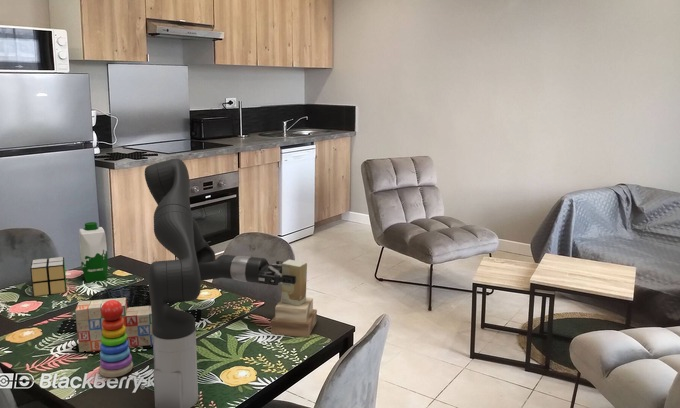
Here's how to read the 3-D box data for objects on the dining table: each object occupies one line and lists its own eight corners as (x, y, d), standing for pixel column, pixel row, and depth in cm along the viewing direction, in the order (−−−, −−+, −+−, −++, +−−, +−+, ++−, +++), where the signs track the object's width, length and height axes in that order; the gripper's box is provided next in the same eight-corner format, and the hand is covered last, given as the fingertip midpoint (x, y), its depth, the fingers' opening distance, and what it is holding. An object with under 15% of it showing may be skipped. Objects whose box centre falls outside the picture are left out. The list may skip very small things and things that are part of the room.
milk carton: (106, 272, 215) (103, 220, 211) (110, 280, 207) (106, 226, 203) (81, 276, 211) (76, 223, 206) (83, 284, 203) (79, 229, 199)
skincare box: (280, 302, 168) (280, 262, 165) (288, 297, 172) (288, 258, 169) (300, 306, 165) (300, 266, 163) (307, 301, 169) (307, 262, 167)
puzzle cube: (34, 287, 199) (31, 259, 197) (66, 283, 203) (64, 256, 201) (33, 297, 190) (30, 268, 188) (66, 293, 194) (64, 264, 192)
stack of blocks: (163, 335, 164) (161, 294, 162) (162, 344, 158) (160, 302, 156) (82, 342, 159) (78, 300, 156) (78, 352, 153) (74, 309, 150)
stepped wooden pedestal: (308, 337, 164) (308, 311, 162) (271, 333, 166) (270, 307, 164) (316, 321, 175) (316, 297, 173) (281, 318, 177) (281, 294, 175)
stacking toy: (94, 370, 144) (88, 299, 140) (125, 360, 149) (120, 291, 145) (107, 382, 138) (101, 309, 134) (138, 371, 144) (134, 300, 140)
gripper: (238, 264, 163) (291, 270, 159) (259, 250, 177) (309, 256, 172) (238, 289, 165) (291, 296, 160) (259, 273, 178) (309, 279, 174)
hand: (300, 275), depth 166 cm, fingers open, 8 cm apart
